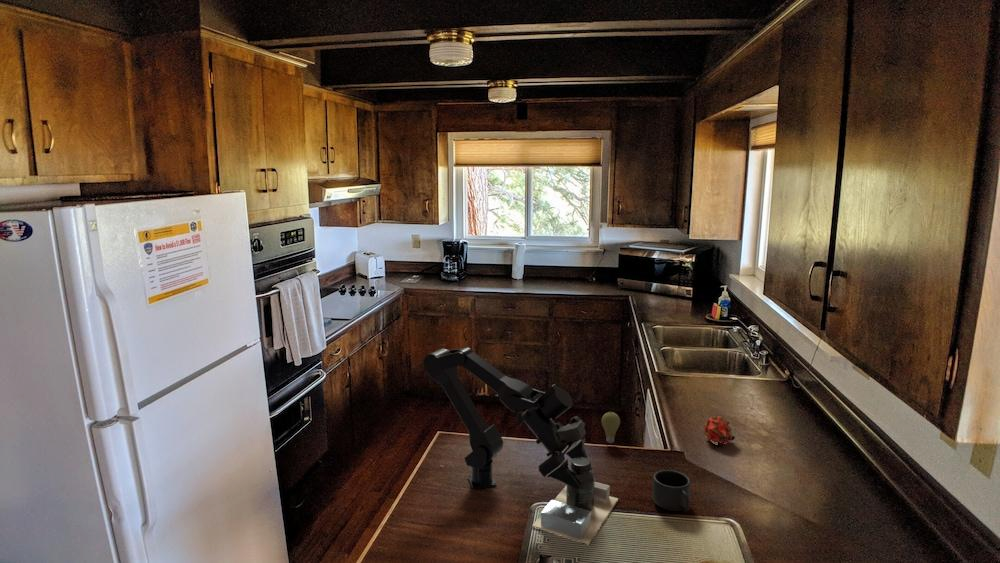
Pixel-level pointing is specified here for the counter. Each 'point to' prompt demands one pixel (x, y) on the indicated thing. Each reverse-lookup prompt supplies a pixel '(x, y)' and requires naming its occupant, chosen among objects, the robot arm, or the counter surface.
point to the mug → (671, 490)
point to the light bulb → (610, 425)
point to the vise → (598, 513)
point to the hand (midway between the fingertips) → (585, 479)
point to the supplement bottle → (581, 484)
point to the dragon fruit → (718, 430)
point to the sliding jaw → (566, 518)
